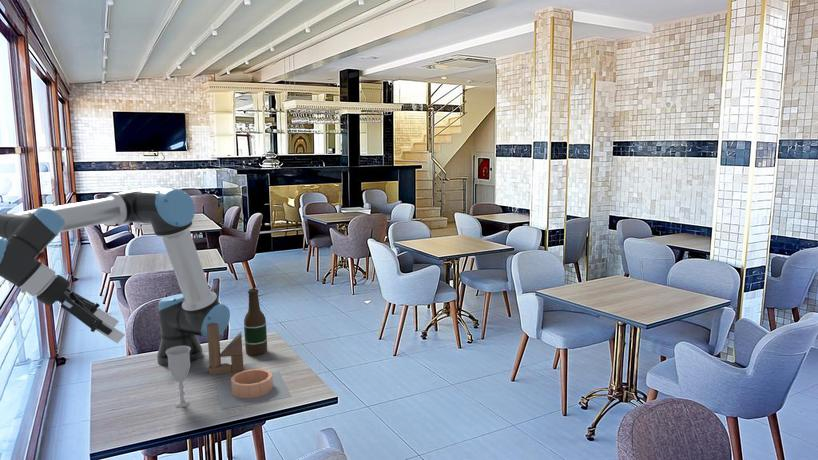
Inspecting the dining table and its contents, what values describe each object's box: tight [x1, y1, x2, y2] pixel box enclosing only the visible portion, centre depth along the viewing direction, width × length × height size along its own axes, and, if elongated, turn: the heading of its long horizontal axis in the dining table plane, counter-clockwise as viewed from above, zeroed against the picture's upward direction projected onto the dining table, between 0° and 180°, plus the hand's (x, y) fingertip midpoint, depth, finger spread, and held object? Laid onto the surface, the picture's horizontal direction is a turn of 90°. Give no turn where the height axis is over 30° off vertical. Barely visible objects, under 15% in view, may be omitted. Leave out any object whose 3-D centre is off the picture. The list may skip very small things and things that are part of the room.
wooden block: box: [207, 323, 245, 376], centre depth 185 cm, size 4×11×18 cm, turn 104°
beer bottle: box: [243, 288, 268, 357], centre depth 204 cm, size 8×8×24 cm
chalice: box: [166, 346, 191, 413], centre depth 161 cm, size 7×7×18 cm
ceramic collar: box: [230, 368, 273, 398], centre depth 171 cm, size 12×12×4 cm
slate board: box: [215, 371, 292, 410], centre depth 172 cm, size 20×20×2 cm
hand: (118, 331), depth 150 cm, fingers open, 13 cm apart
